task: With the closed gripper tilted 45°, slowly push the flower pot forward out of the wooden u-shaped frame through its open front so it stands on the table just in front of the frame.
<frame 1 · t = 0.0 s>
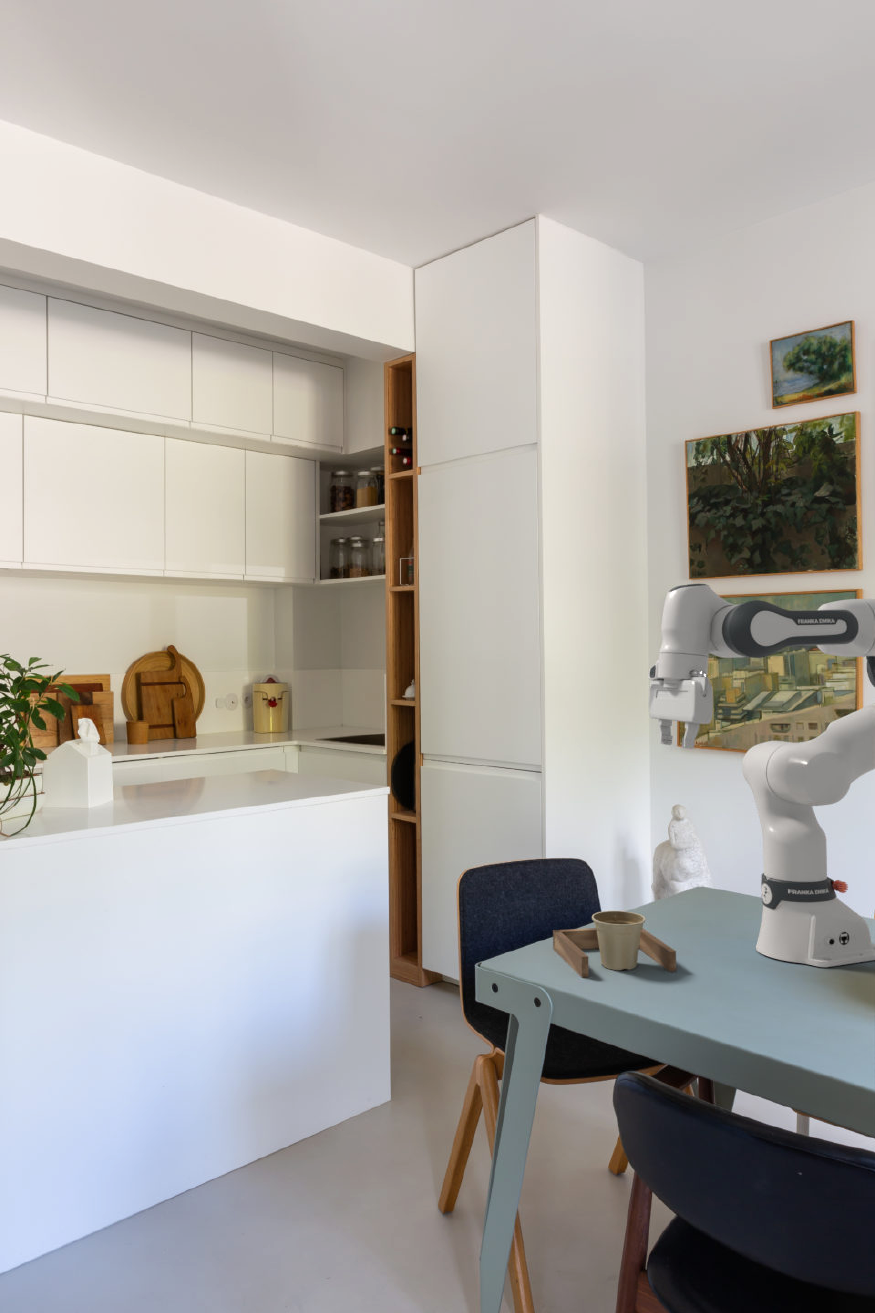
hand: (676, 746, 169), 39 cm above the table, tool pointing down, fingers open, 8 cm apart
flower pot: (619, 967, 166), on the table
wooden u-shaped frame: (612, 959, 169), on the table
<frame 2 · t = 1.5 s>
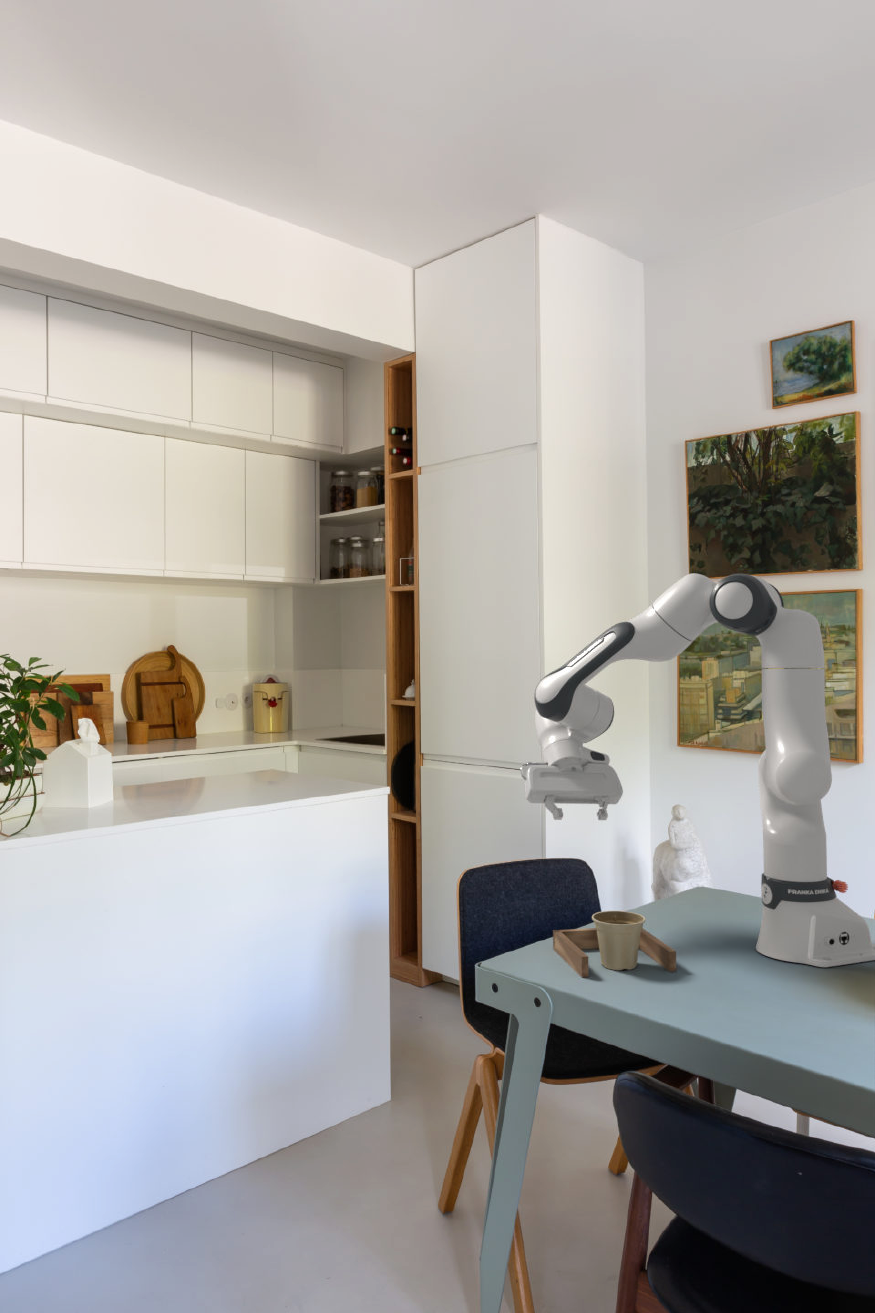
hand: (581, 818, 185), 23 cm above the table, tool tilted 45°, fingers open, 8 cm apart
nothing on the table moved.
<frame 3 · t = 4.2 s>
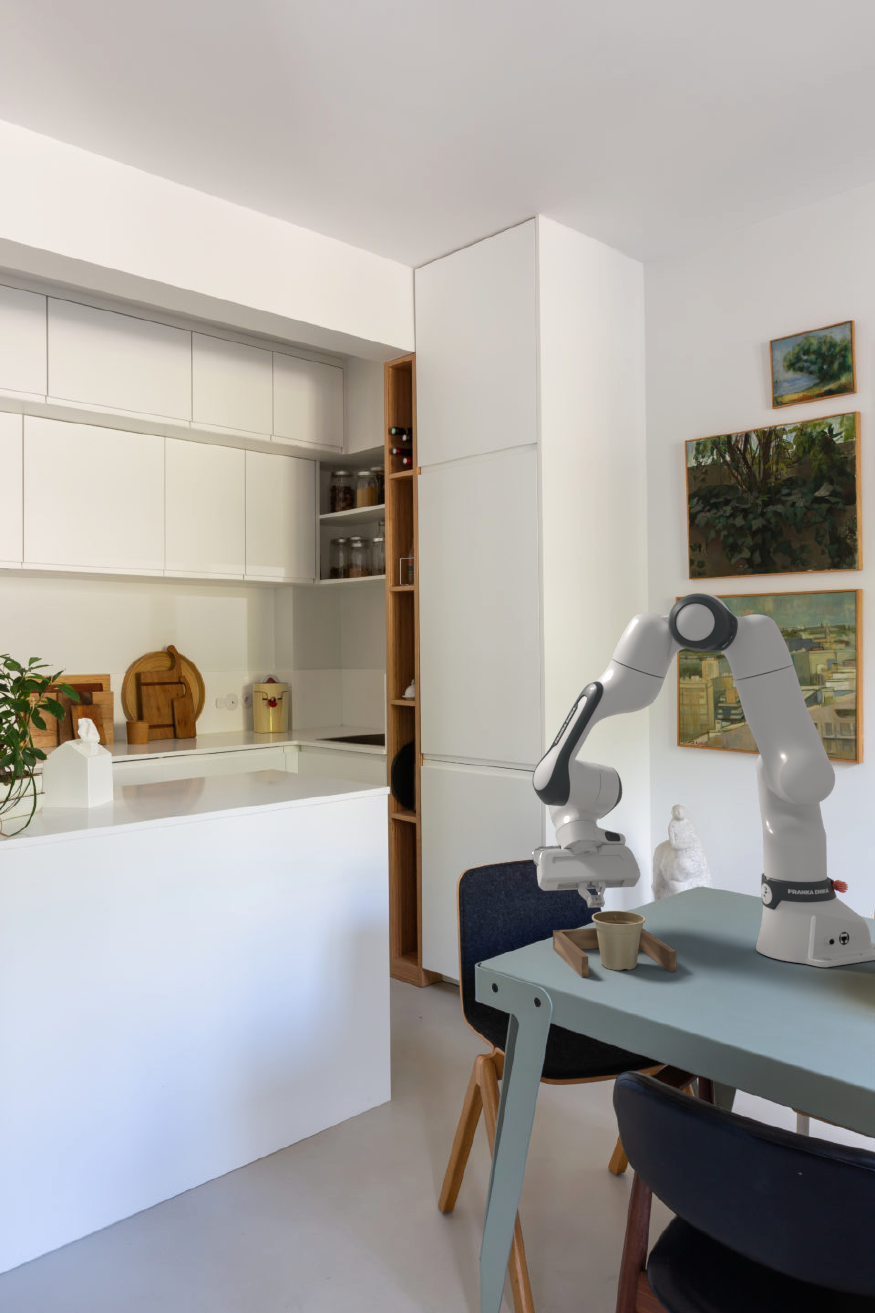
hand: (596, 905, 177), 8 cm above the table, tool tilted 45°, fingers closed
nothing on the table moved.
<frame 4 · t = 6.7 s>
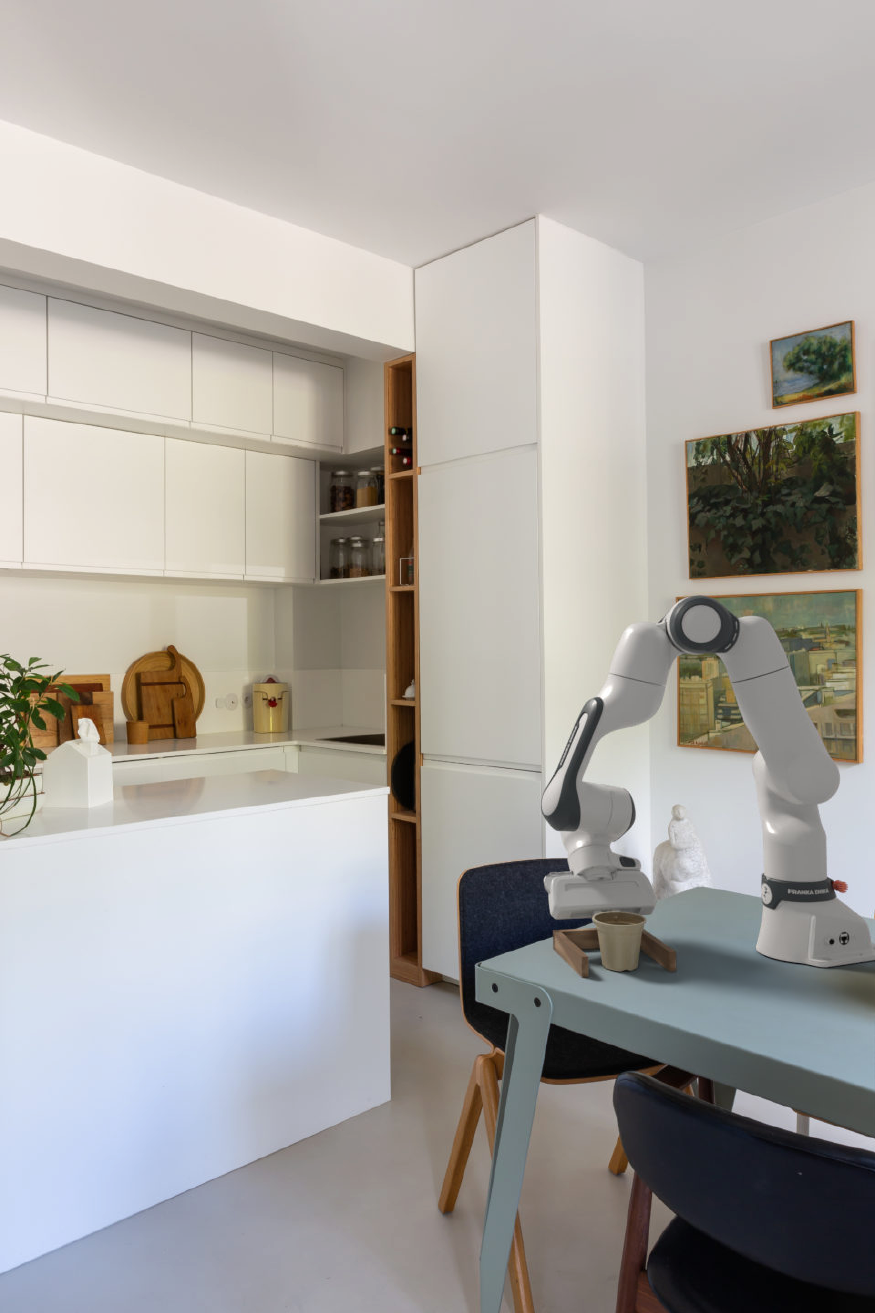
hand: (611, 935, 169), 4 cm above the table, tool tilted 45°, fingers closed, pressing on flower pot
flower pot: (620, 968, 165), on the table, touching gripper
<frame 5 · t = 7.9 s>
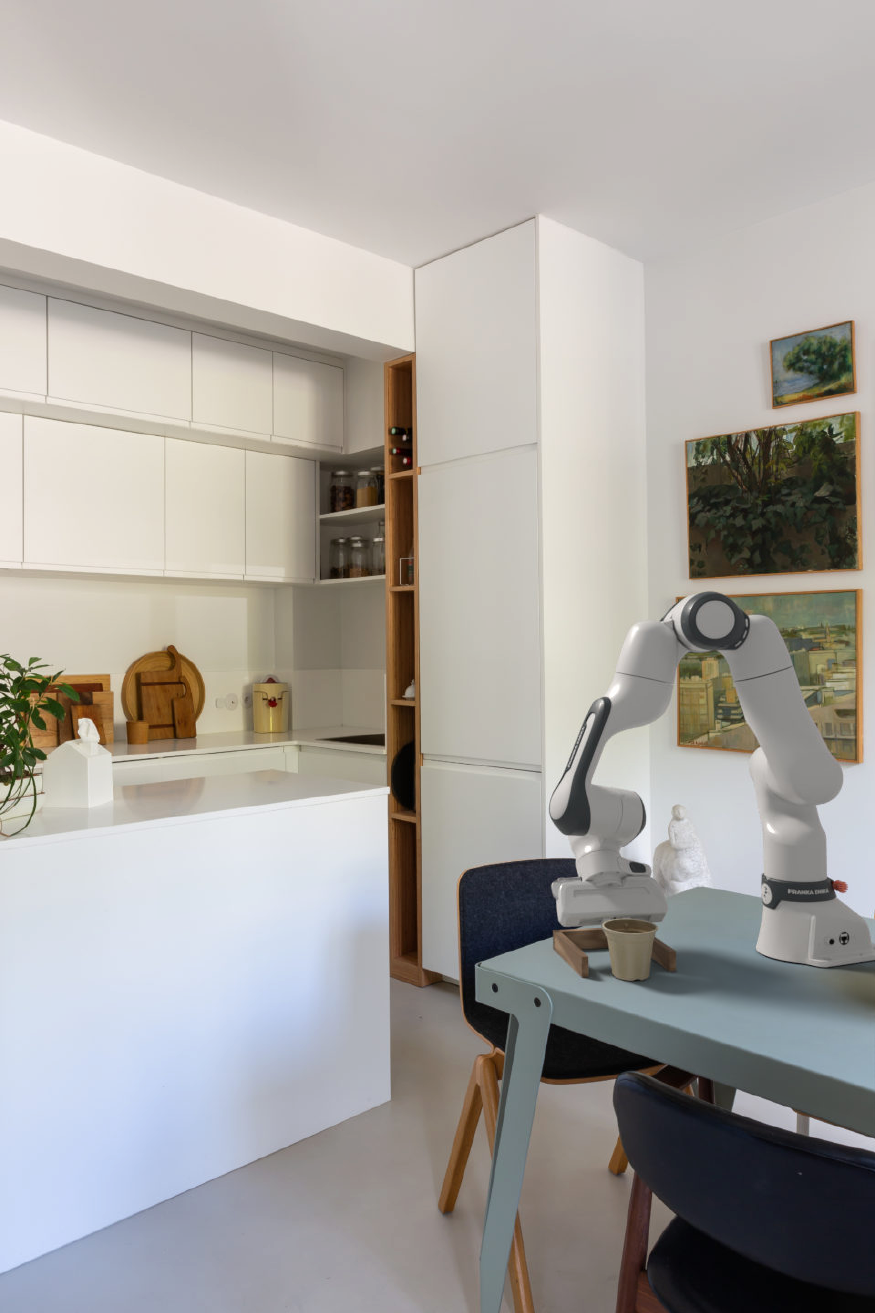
hand: (621, 944, 164), 4 cm above the table, tool tilted 45°, fingers closed, pressing on flower pot
flower pot: (630, 977, 160), on the table, touching gripper
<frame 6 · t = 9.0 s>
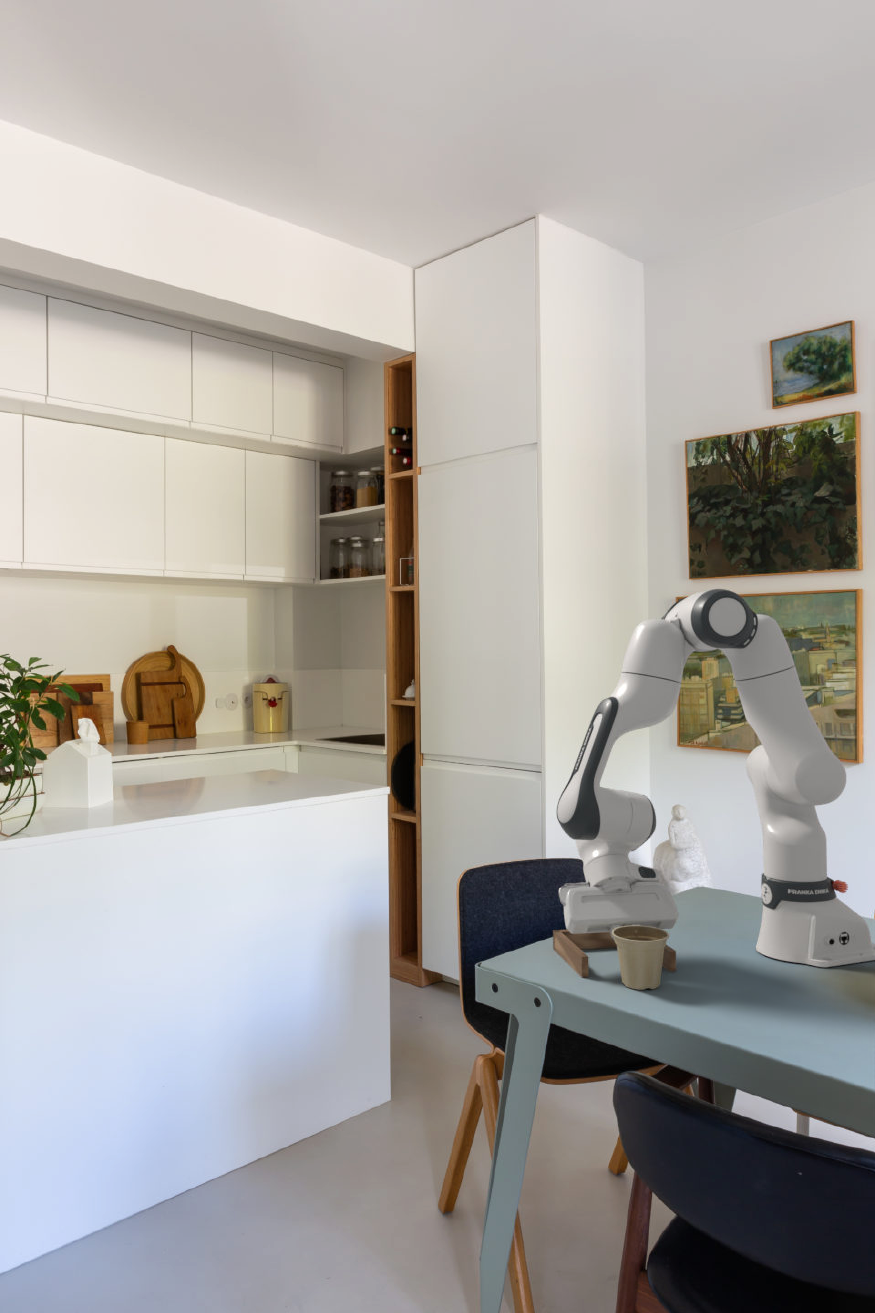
hand: (631, 951, 159), 4 cm above the table, tool tilted 45°, fingers closed, pressing on flower pot
flower pot: (641, 985, 155), on the table, touching gripper
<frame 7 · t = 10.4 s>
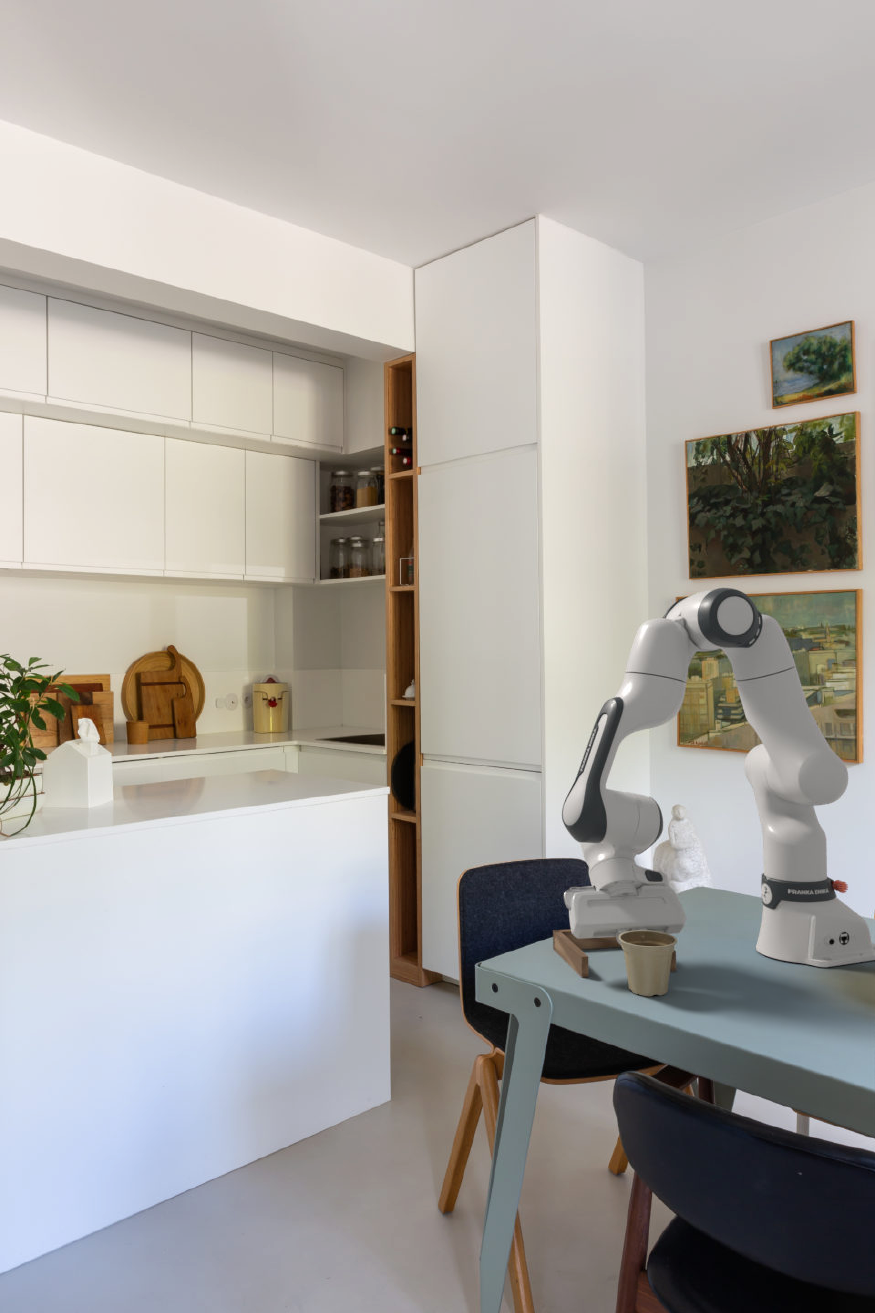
hand: (638, 956, 156), 4 cm above the table, tool tilted 45°, fingers closed, pressing on flower pot
flower pot: (648, 992, 152), on the table, touching gripper
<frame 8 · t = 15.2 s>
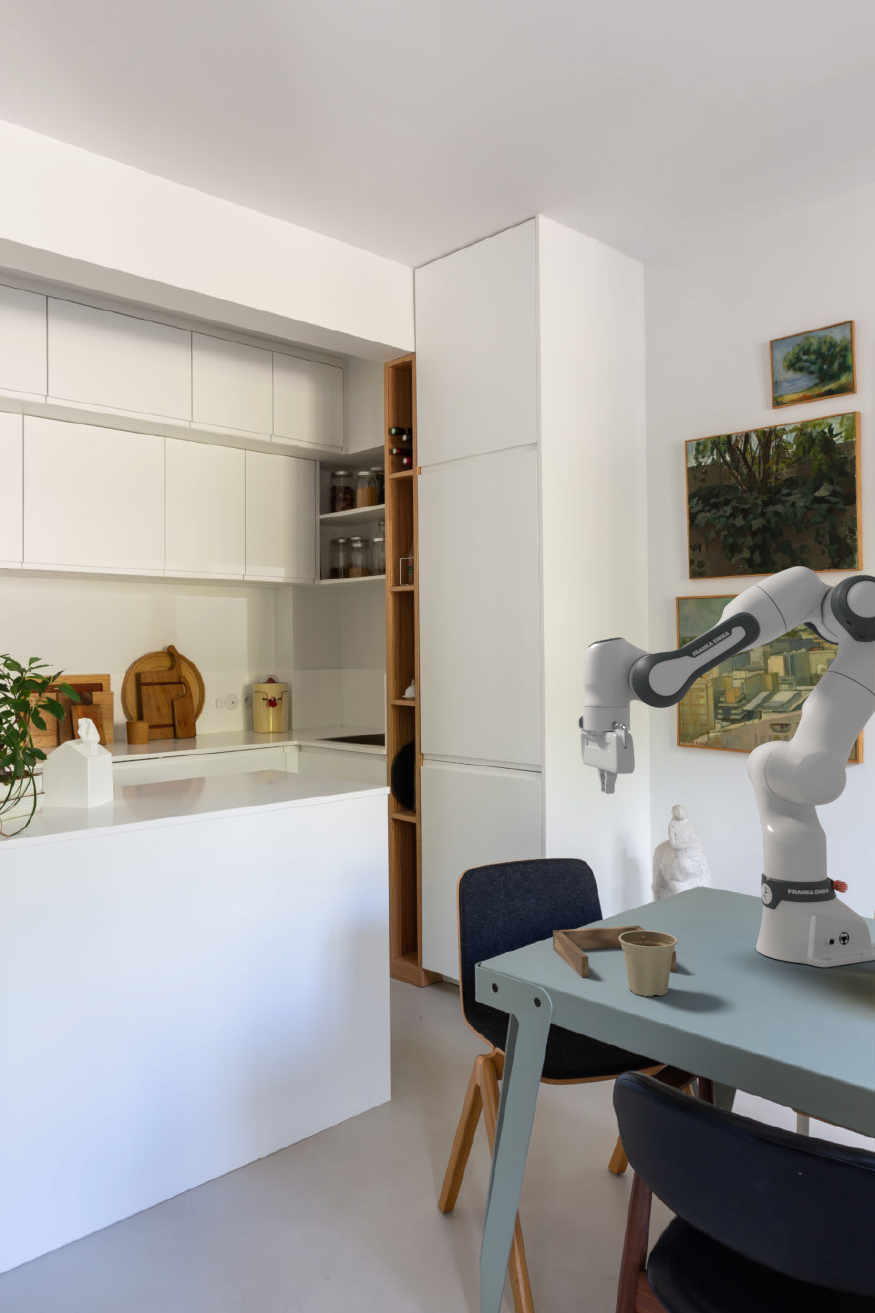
hand: (607, 792, 180), 29 cm above the table, tool pointing down, fingers closed
flower pot: (648, 992, 152), on the table
at the end: flower pot inside the target area (0.8 cm from its centre), on the table; flower pot tilted 0° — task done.
